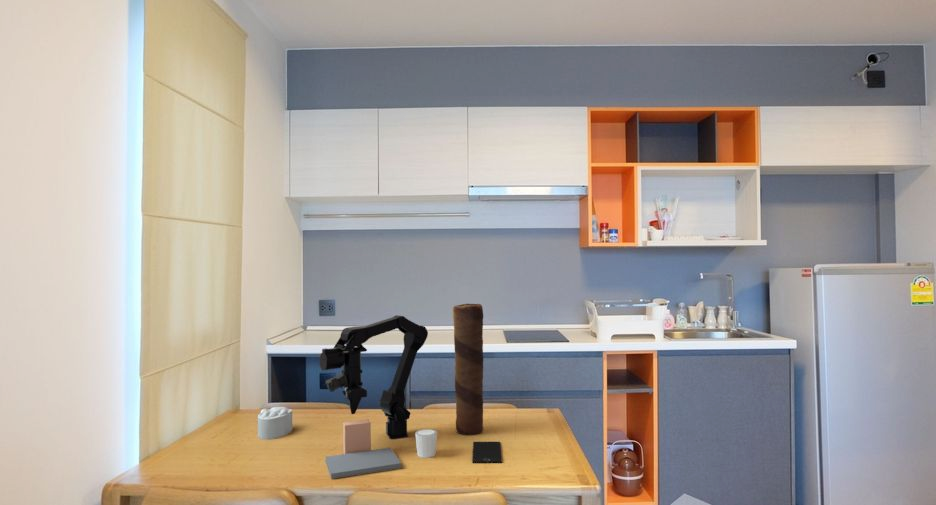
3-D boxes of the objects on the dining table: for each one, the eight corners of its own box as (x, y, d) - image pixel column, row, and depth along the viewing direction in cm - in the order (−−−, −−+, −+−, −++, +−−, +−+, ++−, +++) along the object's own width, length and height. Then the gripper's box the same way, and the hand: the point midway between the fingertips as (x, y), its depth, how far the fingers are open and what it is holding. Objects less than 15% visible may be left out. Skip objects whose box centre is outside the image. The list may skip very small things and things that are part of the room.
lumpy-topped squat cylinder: (296, 428, 199) (295, 404, 200) (278, 440, 187) (278, 414, 187) (269, 427, 201) (269, 404, 201) (250, 439, 188) (250, 414, 188)
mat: (390, 452, 173) (390, 447, 173) (401, 468, 159) (401, 463, 159) (325, 461, 166) (325, 456, 166) (331, 479, 152) (331, 473, 152)
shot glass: (420, 460, 166) (420, 436, 166) (412, 453, 172) (411, 430, 172) (441, 456, 169) (440, 433, 169) (432, 449, 175) (431, 427, 175)
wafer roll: (480, 437, 186) (478, 305, 187) (451, 434, 189) (449, 305, 190) (489, 428, 196) (487, 303, 197) (461, 425, 199) (459, 302, 200)
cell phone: (472, 464, 162) (472, 461, 162) (473, 444, 180) (473, 441, 180) (502, 464, 162) (502, 461, 162) (500, 444, 180) (500, 441, 180)
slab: (368, 450, 175) (368, 419, 175) (371, 454, 171) (370, 422, 171) (343, 454, 172) (343, 422, 172) (345, 458, 168) (344, 425, 169)
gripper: (324, 363, 185) (324, 409, 185) (330, 373, 168) (331, 424, 168) (356, 360, 189) (357, 405, 189) (366, 370, 172) (367, 420, 172)
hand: (353, 413), depth 179 cm, fingers closed
